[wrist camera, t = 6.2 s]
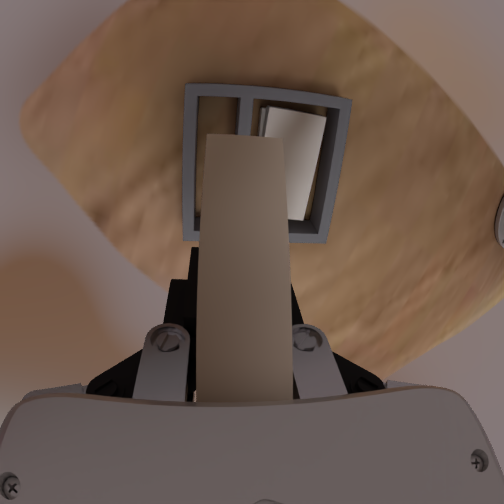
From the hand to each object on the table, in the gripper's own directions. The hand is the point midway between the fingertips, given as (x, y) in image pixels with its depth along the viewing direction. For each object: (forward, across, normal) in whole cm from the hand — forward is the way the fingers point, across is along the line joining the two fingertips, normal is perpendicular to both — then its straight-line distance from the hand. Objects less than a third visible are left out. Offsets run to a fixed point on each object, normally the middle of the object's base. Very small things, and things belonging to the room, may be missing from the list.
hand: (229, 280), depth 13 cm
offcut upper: (+18, -6, 0) cm, 19 cm away
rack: (+19, -3, 0) cm, 19 cm away
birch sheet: (+3, 0, +5) cm, 6 cm away
